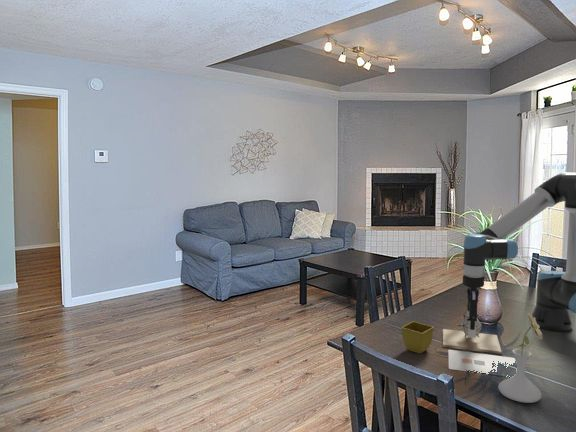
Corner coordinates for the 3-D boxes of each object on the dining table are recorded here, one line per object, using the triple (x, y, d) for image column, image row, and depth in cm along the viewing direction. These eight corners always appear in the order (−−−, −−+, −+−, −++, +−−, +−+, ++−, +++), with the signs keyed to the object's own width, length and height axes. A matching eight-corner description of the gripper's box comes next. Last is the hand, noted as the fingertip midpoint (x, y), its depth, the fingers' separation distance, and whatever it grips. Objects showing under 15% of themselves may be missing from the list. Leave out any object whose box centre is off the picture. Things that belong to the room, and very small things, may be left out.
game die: (472, 343, 171) (484, 321, 173) (479, 344, 163) (492, 321, 165) (451, 330, 173) (463, 308, 175) (457, 330, 165) (470, 307, 167)
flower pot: (400, 350, 163) (400, 326, 162) (412, 343, 169) (413, 320, 168) (421, 357, 157) (422, 333, 156) (433, 350, 163) (434, 326, 162)
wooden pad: (496, 337, 174) (496, 335, 174) (501, 354, 159) (501, 351, 159) (442, 331, 181) (443, 329, 181) (442, 346, 166) (442, 344, 166)
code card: (514, 358, 156) (514, 357, 156) (521, 379, 141) (522, 378, 141) (448, 349, 163) (448, 349, 163) (448, 368, 148) (448, 368, 148)
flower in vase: (529, 411, 123) (535, 325, 120) (490, 394, 132) (494, 313, 129) (551, 396, 131) (556, 315, 127) (512, 381, 140) (517, 305, 137)
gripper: (461, 267, 178) (459, 321, 181) (464, 282, 158) (461, 342, 160) (482, 269, 176) (479, 323, 178) (486, 283, 155) (483, 344, 158)
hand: (470, 332), depth 169 cm, fingers closed on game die, 9 cm apart
